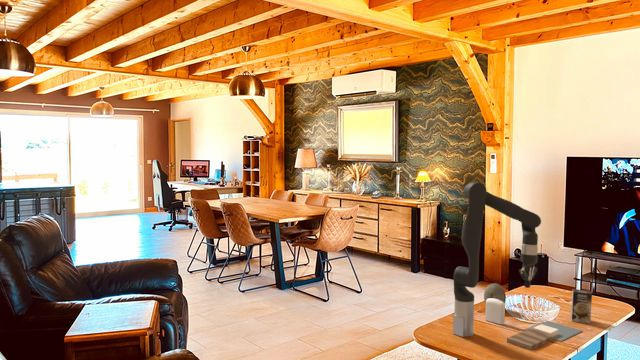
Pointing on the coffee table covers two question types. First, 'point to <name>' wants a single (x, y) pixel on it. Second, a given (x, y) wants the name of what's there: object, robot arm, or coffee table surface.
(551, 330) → the tile
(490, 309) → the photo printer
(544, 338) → the deck
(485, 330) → the coffee table surface
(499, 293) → the decorative egg
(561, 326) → the mat
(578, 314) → the coffee box
